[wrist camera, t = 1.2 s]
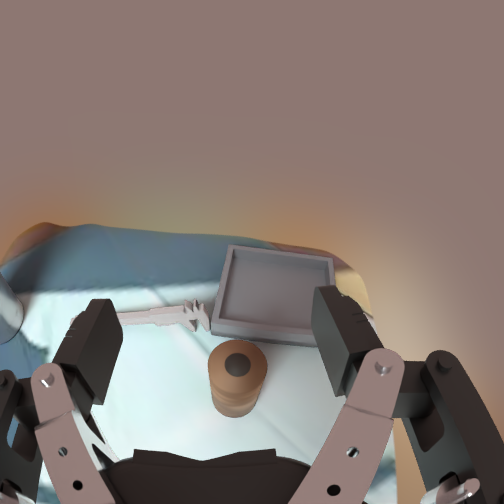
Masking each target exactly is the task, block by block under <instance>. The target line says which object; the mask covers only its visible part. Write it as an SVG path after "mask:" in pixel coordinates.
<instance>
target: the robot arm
mask: <svg viewBox="0 0 504 504" xmlns="http://www.w3.org/2000/svg"><path fill="white" fill-rule="evenodd" d="M23 314H24V311H23V306H22V304H21V302H20V301H19V299H18V298H17V296H16V295H15V294H14V292H13V291H12V289H11V288H10V286H9V285H8V283H7V282H6V280H5V279H4V277H3V276H2V274H1V272H0V344H3V343H5V342H7V341H9V340H10V339H11V338H12V337H14V335H15V334H16V333H17V331H18V330H19V328H20V326H21V323H22V320H23ZM311 327H312V332H313V335H314V338H315V340H316V343H317V346H318V349H319V351H320V354H321V357H322V360H323V363H324V365H325V368H326V371H327V374H328V377H329V379H330V382H331V385H332V388H333V391H334V394H335V397H338V396H342V395H345V396H346V399H347V400H346V402H345V404H344V406H343V408H342V410H341V412H340V414H339V416H338V418H337V420H336V422H335V424H334V426H333V428H332V430H331V432H330V434H329V436H328V438H327V440H326V441H325V443H324V445H323V447H322V449H321V451H320V452H319V454H318V456H317V458H316V460H315V461H314V463H313V465H312V466H310V465H308V464H306V463H303V462H301V461H298V460H295V459H291V458H286V457H279V456H276V450H275V449H267V450H256V451H244V452H237V453H233V454H229V455H226V456H222V457H218V458H214V459H210V460H205V461H199V460H195V459H191V458H187V457H183V456H179V455H176V454H172V453H169V452H161V451H149V450H139V449H134V454H133V457H131V458H127V459H123V460H119V458H118V457H117V456H116V454H115V453H114V452H113V450H112V449H111V447H110V446H109V444H108V442H107V440H106V438H105V436H104V434H103V432H102V430H101V428H100V426H99V424H98V422H97V420H96V418H95V416H94V414H93V412H92V411H91V407H92V404H96V405H103V404H104V400H105V397H106V393H107V390H108V386H109V383H110V379H111V376H112V373H113V370H114V366H115V363H116V360H117V357H118V354H119V351H120V348H121V345H122V341H123V331H122V327H121V324H120V322H119V319H118V317H117V314H116V311H115V308H114V306H113V303H112V301H111V300H110V299H92V300H91V301H90V303H89V305H88V307H87V308H86V310H85V311H82V312H81V313H80V314H79V315H78V316H77V317H76V318H75V319H74V320H73V322H72V324H71V326H70V328H69V330H68V331H67V333H66V335H65V336H66V337H64V339H63V341H62V343H61V345H60V347H59V349H58V351H57V353H56V355H55V357H54V359H53V361H52V363H46V364H43V365H41V366H40V367H38V368H37V369H36V370H35V371H34V373H33V375H32V377H30V378H24V379H17V377H16V376H15V375H14V373H13V372H12V371H10V370H2V371H0V504H36V498H37V491H38V484H39V478H40V473H41V467H42V462H43V460H44V463H45V466H46V469H47V471H48V474H49V477H50V479H51V482H52V484H53V487H54V489H55V491H56V494H57V496H58V498H59V500H60V502H61V504H367V503H366V502H364V501H363V500H364V498H365V496H366V493H367V491H368V489H369V487H370V485H371V482H372V480H373V478H374V475H375V473H376V471H377V468H378V466H379V463H380V461H381V458H382V455H383V453H384V450H385V447H386V445H387V442H388V439H389V436H390V433H391V430H392V427H393V421H394V420H393V419H391V418H401V419H402V421H403V424H404V426H405V429H406V432H407V434H408V437H409V440H410V443H411V446H412V449H413V451H414V454H415V457H416V460H417V463H418V466H419V469H420V472H421V475H422V478H423V481H424V485H425V488H426V491H427V493H426V494H425V495H424V497H423V498H422V500H421V502H420V504H504V443H503V441H502V439H501V436H500V434H499V432H498V430H497V428H496V426H495V424H494V422H493V420H492V418H491V417H490V414H489V412H488V410H487V409H486V406H485V405H484V403H483V401H482V399H481V397H480V395H479V394H478V392H477V390H476V389H475V387H474V385H473V383H472V382H471V380H470V378H469V376H468V375H467V374H466V372H465V370H464V368H463V367H462V365H461V364H460V362H459V360H458V359H457V358H456V357H455V356H454V355H453V354H451V353H450V352H447V351H443V350H437V351H434V352H432V353H430V354H429V356H428V357H427V359H426V361H403V360H402V358H401V357H400V356H399V355H398V354H397V353H396V352H394V351H392V350H389V349H385V348H384V347H383V345H382V343H381V341H380V340H379V338H378V336H377V334H376V333H375V331H374V329H373V328H372V326H371V324H370V323H369V322H368V319H367V317H366V316H365V314H363V311H362V309H361V308H360V306H359V304H358V303H357V302H356V301H354V300H353V299H352V298H350V297H349V296H344V297H342V296H341V294H340V292H339V291H338V289H337V287H336V286H335V285H326V286H316V287H315V289H314V296H313V305H312V313H311ZM12 418H14V419H15V420H16V421H17V422H18V423H19V424H18V427H17V430H16V434H15V437H14V441H13V444H12V448H10V446H9V445H8V442H7V433H8V430H9V427H10V424H11V421H12Z"/></svg>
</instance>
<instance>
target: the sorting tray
mask: <svg viewBox="0 0 504 504" xmlns="http://www.w3.org/2000/svg"><path fill="white" fill-rule="evenodd" d="M326 285H335V286H336V283H335V274H334V266H333V259H332V258H328V257H321V256H313V255H306V254H298V253H291V252H283V251H276V250H268V249H261V248H253V247H246V246H238V245H230V244H229V247H228V251H227V255H226V259H225V263H224V268H223V272H222V276H221V280H220V285H219V289H218V293H217V297H216V302H215V306H214V311H213V315H212V319H211V334H212V335H215V336H222V337H229V338H235V339H243V340H250V341H258V342H266V343H275V344H285V345H295V346H306V347H318V346H317V343H316V340H315V338H314V335H313V332H312V327H311V313H312V305H313V296H314V289H315V287H316V286H326Z"/></svg>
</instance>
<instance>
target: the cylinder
mask: <svg viewBox="0 0 504 504" xmlns="http://www.w3.org/2000/svg"><path fill="white" fill-rule="evenodd" d="M208 372H209V380H210V387H211V394H212V400H213V404H214V406H215V408H216V409H217V410H218V411H219V412H220V413H221V414H223V415H225V416H227V417H232V418H237V417H242V416H244V415H246V414H248V413H249V412H250V411H251V410H252V409H253V407H254V406H255V403H256V400H257V398H258V395H259V392H260V389H261V387H262V384H263V381H264V379H265V376H266V373H267V361H266V358H265V355H264V354H263V352H262V351H261V350H260V349H259V348H258V347H257V346H256V345H254V344H252V343H250V342H248V341H244V340H229V341H226V342H223V343H221V344H220V345H218V346H217V347H216V348H215V349H214V350H213V351H212V353H211V354H210V356H209V360H208Z"/></svg>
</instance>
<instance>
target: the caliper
mask: <svg viewBox="0 0 504 504" xmlns="http://www.w3.org/2000/svg"><path fill="white" fill-rule="evenodd" d="M116 314H117V317H118V319H119V322H120V324H121V325H133V324H149V323H155V324H156V325H157V326H162V325H172V324H175V323H181V324H183V325H184V326H185V327H187V328H188V329H189V330H191V331H192V332H196V324H195V322H194V320H195V319H198V320H199V321H200V323H201V324H202V326H203V327H204V329H205V331H206V332H207V331H209V312H208V311H207V309H206V307H205V305H204V304H198V302H197V300H196V299H194V303H193V304H192V303H191V302H189V301H187V300H185V306H184V305H180V306H171V307H161V308H151V309H150V311H140V312H126V313H116ZM76 317H77V316H75V318H76ZM75 318H72V319H71V322H70V325H71V324H72V322H73V320H74V319H75Z"/></svg>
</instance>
